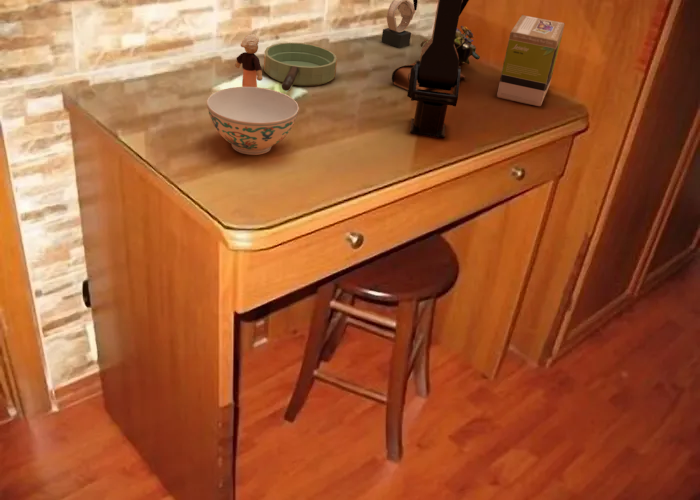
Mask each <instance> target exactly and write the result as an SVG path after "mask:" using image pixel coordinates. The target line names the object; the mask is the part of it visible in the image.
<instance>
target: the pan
mask: <svg viewBox="0 0 700 500" xmlns="http://www.w3.org/2000/svg"><path fill="white" fill-rule="evenodd" d="M337 64H338V57H337V55H336V54H335V52H333V51H332V50H330V49H327V48H325V47H322V46H319V45H315V44H310V43H303V42H279V43H275V44H271V45H269V46H268V47H266V48H265V49H264V53H263V70H264V73H265V74H266V75H268V76H269V77H270V78H271V79H273V80H275V81H277V82H280V83H283V81H284V80H285V78H286V76H287V74H288V72H289V70H290V68H291V67H292V66H296V67H297V68H298V69H299V72H298V74H297V76H296V78H295V80H294V83H293V85H292V86H300V87H301V86H302V87H313V86H314V87H315V86H320V85H325V84H327V83H329V82H331V81H332V80H334V79H335V77H336V73H337Z"/></svg>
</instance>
